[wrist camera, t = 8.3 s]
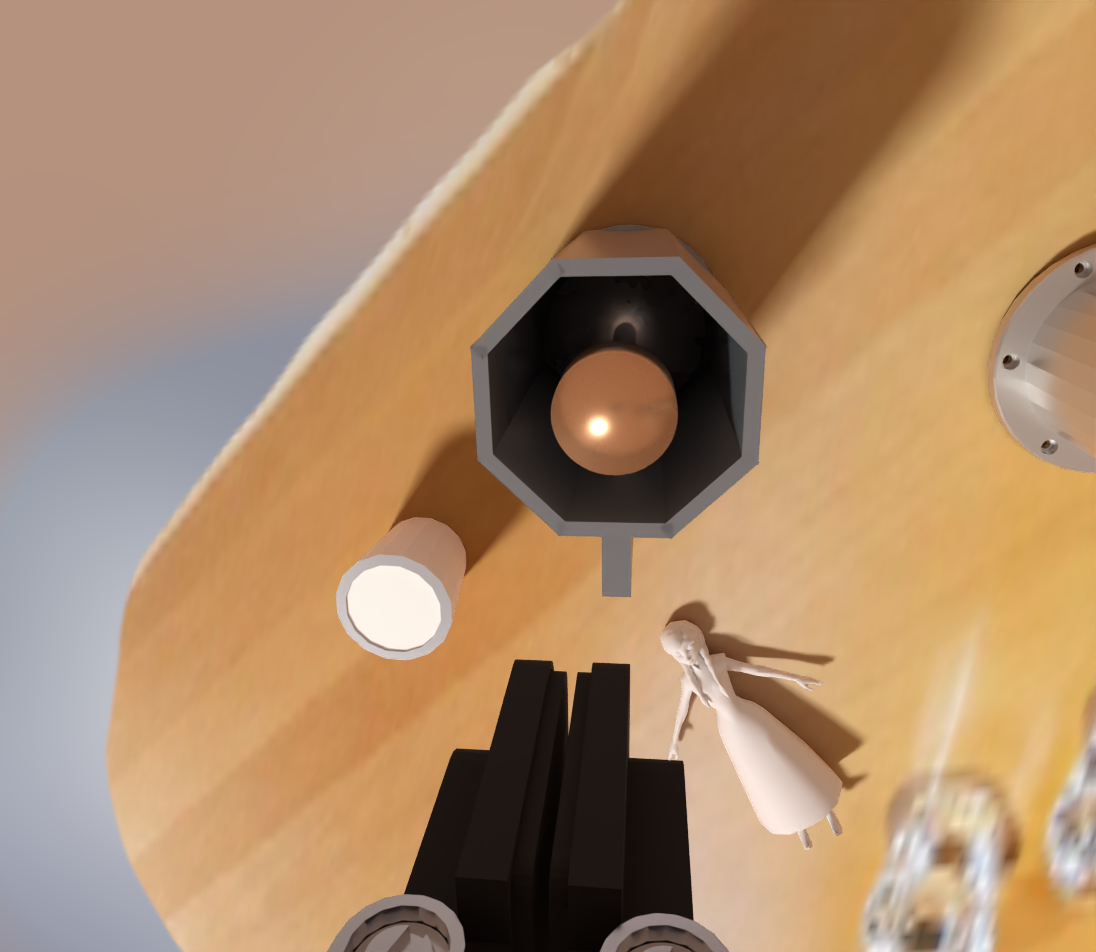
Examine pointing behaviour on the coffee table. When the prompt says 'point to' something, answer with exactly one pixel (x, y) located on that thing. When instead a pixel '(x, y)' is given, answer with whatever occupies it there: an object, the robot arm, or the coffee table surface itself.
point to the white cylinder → (404, 590)
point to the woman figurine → (756, 739)
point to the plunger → (621, 367)
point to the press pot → (703, 401)
